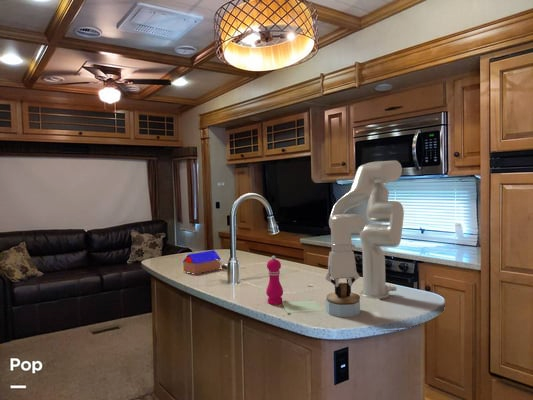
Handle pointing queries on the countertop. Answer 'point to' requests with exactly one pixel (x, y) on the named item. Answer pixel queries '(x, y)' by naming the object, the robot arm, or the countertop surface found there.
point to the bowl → (342, 309)
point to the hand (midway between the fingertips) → (343, 295)
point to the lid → (343, 296)
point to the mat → (301, 306)
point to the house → (201, 262)
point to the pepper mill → (274, 282)
